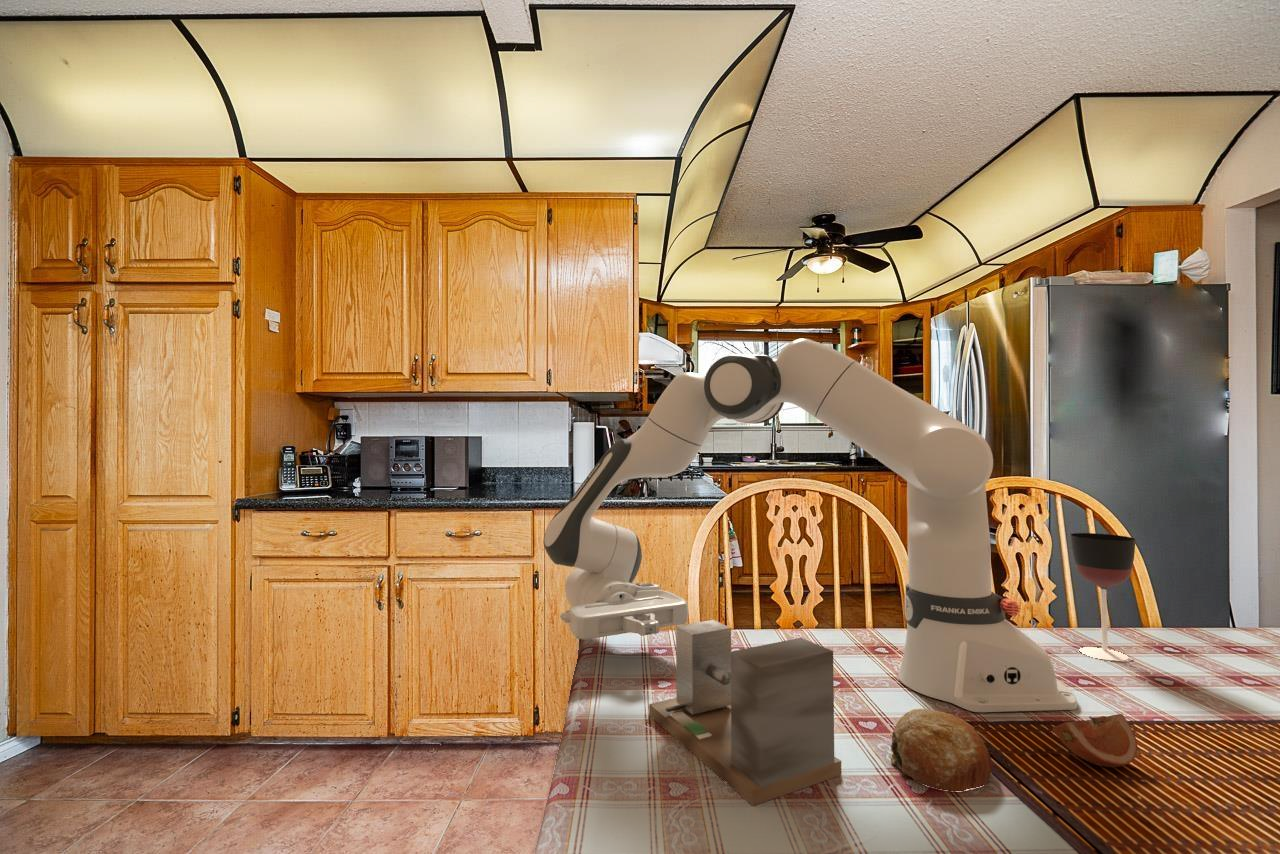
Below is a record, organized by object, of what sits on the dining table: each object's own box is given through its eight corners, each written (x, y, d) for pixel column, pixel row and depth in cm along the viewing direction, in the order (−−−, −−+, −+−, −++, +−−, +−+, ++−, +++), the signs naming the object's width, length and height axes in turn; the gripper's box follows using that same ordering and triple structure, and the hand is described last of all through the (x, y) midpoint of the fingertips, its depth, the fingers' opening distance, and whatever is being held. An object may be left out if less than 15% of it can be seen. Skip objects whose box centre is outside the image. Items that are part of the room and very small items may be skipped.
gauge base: (649, 715, 78) (649, 613, 79) (723, 697, 84) (723, 601, 84) (753, 805, 59) (751, 668, 59) (841, 774, 64) (839, 649, 64)
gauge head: (659, 706, 77) (659, 628, 77) (714, 693, 81) (713, 619, 81) (687, 729, 70) (687, 645, 71) (745, 714, 74) (745, 634, 75)
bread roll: (890, 777, 70) (861, 717, 70) (963, 736, 71) (935, 677, 71) (939, 832, 60) (906, 761, 60) (1023, 783, 61) (991, 714, 61)
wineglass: (1073, 643, 106) (1070, 531, 107) (1136, 652, 101) (1132, 536, 102) (1073, 655, 100) (1070, 537, 100) (1140, 667, 95) (1137, 542, 95)
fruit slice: (1090, 781, 63) (1089, 734, 63) (1036, 749, 69) (1035, 706, 70) (1153, 772, 65) (1152, 726, 65) (1094, 742, 71) (1093, 700, 71)
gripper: (556, 595, 98) (588, 617, 86) (664, 582, 107) (706, 601, 95) (556, 633, 98) (587, 661, 86) (663, 617, 107) (705, 640, 95)
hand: (651, 629), depth 90 cm, fingers closed
